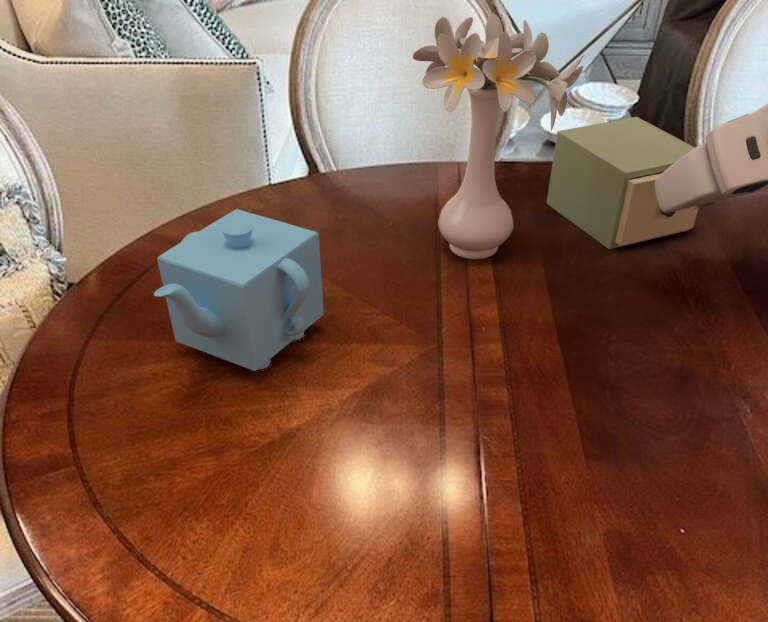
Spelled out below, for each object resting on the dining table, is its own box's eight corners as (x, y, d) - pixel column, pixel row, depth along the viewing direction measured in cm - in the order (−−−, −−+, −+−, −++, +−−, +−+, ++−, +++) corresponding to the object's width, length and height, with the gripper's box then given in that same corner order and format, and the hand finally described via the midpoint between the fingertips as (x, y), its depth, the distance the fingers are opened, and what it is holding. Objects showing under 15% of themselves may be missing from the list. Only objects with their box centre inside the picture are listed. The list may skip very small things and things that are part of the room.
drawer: (699, 232, 100) (717, 171, 95) (626, 250, 97) (640, 187, 91) (629, 188, 110) (642, 130, 104) (560, 203, 106) (569, 143, 101)
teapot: (231, 295, 91) (214, 185, 82) (344, 334, 85) (339, 220, 76) (121, 374, 80) (87, 257, 71) (241, 424, 75) (221, 303, 65)
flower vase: (548, 281, 93) (587, 45, 76) (397, 263, 96) (400, 33, 78) (556, 231, 102) (592, 10, 84) (417, 217, 105) (424, 0, 87)
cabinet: (688, 230, 103) (710, 155, 96) (609, 249, 99) (625, 173, 92) (621, 187, 112) (636, 116, 105) (546, 203, 108) (557, 131, 101)
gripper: (858, 97, 81) (759, 159, 95) (701, 129, 75) (619, 190, 89) (874, 156, 82) (773, 210, 95) (719, 192, 76) (635, 244, 89)
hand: (698, 201), depth 92 cm, fingers closed
